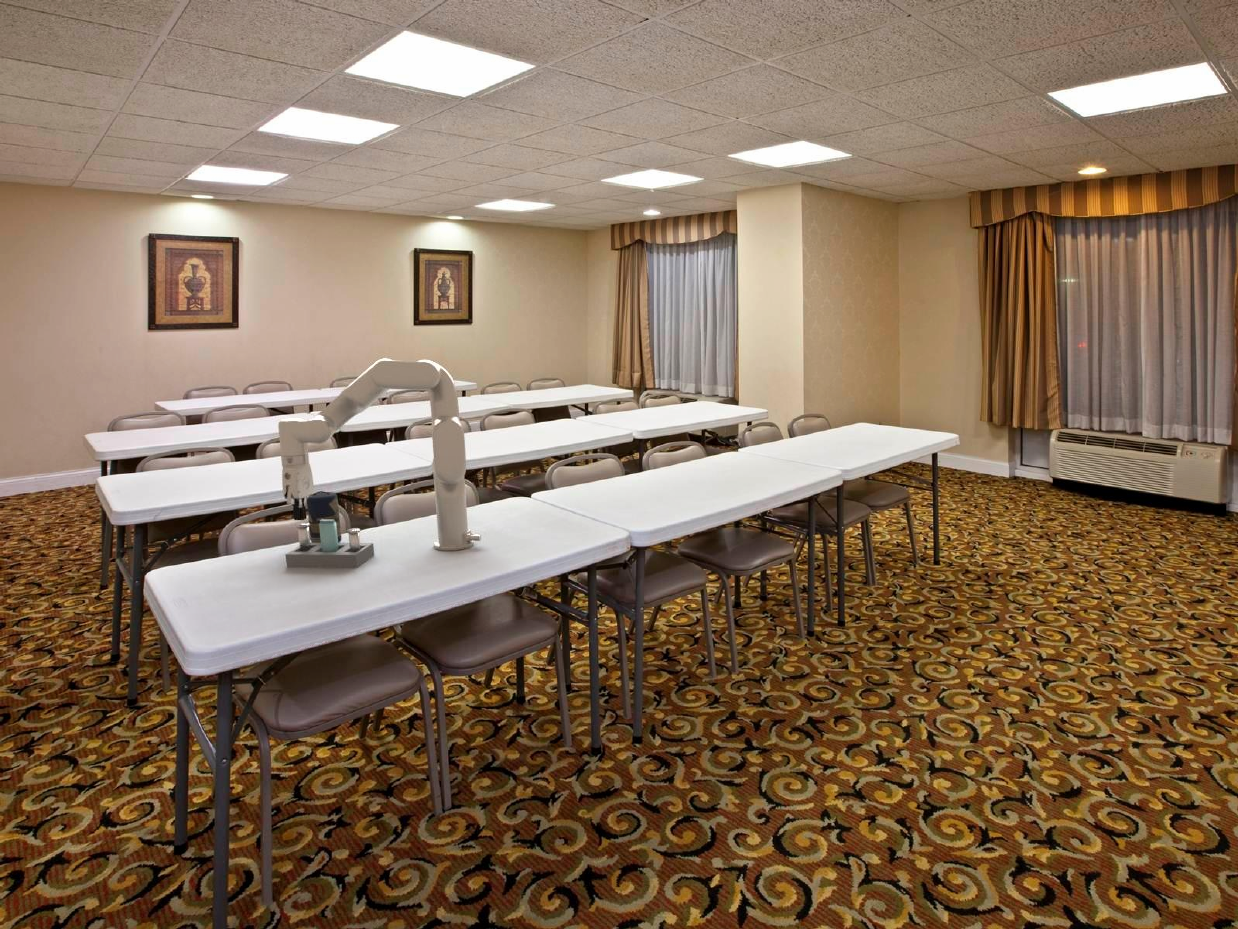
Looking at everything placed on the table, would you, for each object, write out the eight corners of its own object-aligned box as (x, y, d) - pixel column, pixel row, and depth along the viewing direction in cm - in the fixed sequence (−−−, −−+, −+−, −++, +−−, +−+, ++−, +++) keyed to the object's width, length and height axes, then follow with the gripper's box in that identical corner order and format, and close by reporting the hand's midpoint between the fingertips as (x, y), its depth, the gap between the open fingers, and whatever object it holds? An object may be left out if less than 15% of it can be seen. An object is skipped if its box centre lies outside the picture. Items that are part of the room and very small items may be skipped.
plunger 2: (364, 555, 228) (362, 528, 226) (359, 559, 224) (356, 531, 222) (352, 555, 228) (350, 528, 226) (347, 559, 224) (344, 531, 223)
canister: (331, 549, 239) (325, 495, 236) (305, 548, 241) (299, 494, 238) (347, 540, 248) (342, 488, 245) (322, 539, 250) (316, 487, 247)
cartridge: (342, 558, 229) (338, 518, 227) (335, 563, 224) (331, 522, 222) (327, 558, 230) (323, 517, 227) (320, 563, 225) (315, 522, 223)
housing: (374, 555, 232) (373, 543, 231) (357, 567, 220) (355, 555, 219) (307, 554, 234) (306, 542, 233) (286, 567, 222) (285, 554, 222)
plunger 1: (314, 549, 229) (311, 522, 227) (308, 553, 225) (305, 526, 224) (303, 549, 229) (300, 522, 228) (296, 553, 226) (293, 526, 224)
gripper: (293, 464, 214) (299, 526, 218) (319, 456, 229) (324, 513, 232) (269, 464, 215) (274, 525, 218) (296, 455, 230) (301, 513, 233)
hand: (300, 519), depth 225 cm, fingers closed
